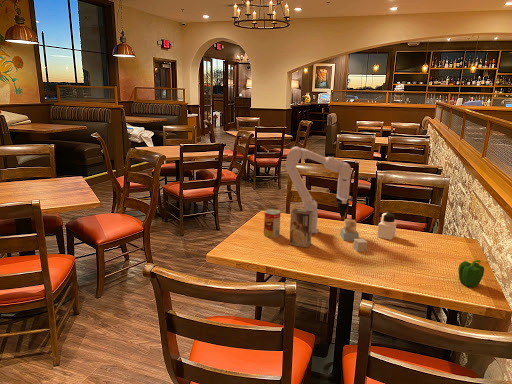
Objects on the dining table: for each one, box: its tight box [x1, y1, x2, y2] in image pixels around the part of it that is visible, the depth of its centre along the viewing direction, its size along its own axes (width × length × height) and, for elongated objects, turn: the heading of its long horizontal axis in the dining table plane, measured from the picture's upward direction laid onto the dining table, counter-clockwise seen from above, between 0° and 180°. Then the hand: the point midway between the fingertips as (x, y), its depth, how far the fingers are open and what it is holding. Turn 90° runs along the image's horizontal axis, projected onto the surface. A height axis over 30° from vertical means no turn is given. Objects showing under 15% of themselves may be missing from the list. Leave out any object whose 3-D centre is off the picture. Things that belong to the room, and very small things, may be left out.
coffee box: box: [289, 208, 312, 248], centre depth 172 cm, size 9×6×16 cm
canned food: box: [263, 208, 281, 238], centre depth 184 cm, size 8×8×12 cm
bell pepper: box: [457, 259, 485, 288], centre depth 139 cm, size 8×8×10 cm
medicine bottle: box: [376, 212, 397, 241], centre depth 185 cm, size 7×7×12 cm
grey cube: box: [352, 238, 368, 253], centre depth 169 cm, size 4×4×4 cm
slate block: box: [339, 227, 360, 242], centre depth 183 cm, size 7×7×4 cm
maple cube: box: [343, 218, 357, 233], centre depth 182 cm, size 5×5×5 cm
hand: (341, 213), depth 187 cm, fingers open, 7 cm apart
